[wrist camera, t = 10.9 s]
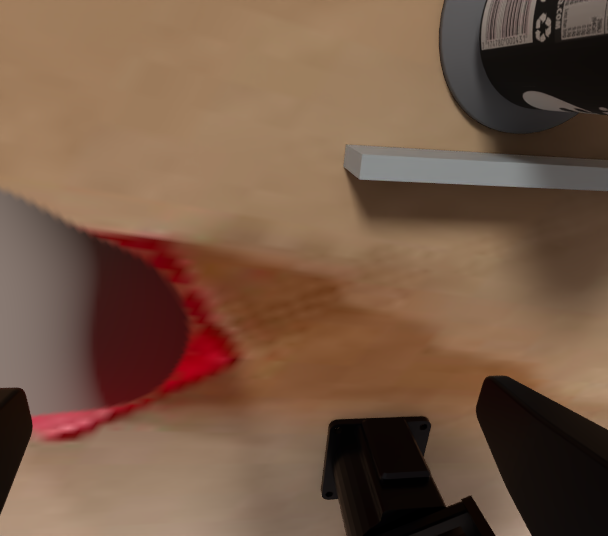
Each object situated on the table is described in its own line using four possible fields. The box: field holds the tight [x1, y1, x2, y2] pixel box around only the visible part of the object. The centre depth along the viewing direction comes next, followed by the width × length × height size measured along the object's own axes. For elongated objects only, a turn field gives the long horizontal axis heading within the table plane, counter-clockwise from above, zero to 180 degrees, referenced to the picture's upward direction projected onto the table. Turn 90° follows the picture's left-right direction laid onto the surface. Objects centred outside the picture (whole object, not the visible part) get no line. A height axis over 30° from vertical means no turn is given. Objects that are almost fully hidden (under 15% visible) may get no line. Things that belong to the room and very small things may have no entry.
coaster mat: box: [439, 0, 578, 133], centre depth 18 cm, size 9×9×1 cm
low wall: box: [344, 145, 608, 191], centre depth 19 cm, size 1×16×3 cm, turn 86°
